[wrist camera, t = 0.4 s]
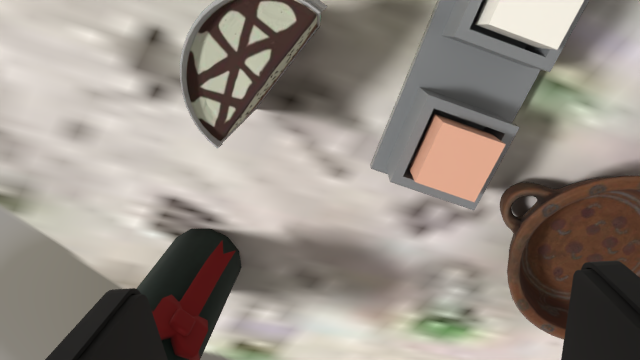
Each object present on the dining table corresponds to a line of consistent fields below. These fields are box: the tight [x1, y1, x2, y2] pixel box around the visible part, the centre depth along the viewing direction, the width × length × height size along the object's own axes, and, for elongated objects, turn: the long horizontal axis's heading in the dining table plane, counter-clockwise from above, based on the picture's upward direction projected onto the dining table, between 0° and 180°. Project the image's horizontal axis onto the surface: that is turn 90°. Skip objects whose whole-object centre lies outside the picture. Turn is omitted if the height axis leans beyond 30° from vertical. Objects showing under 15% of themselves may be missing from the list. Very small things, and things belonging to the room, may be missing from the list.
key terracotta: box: [409, 114, 506, 202], centre depth 31 cm, size 5×5×3 cm
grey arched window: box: [180, 0, 327, 148], centre depth 29 cm, size 12×6×10 cm, turn 140°
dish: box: [500, 176, 640, 339], centre depth 37 cm, size 18×22×5 cm
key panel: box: [370, 0, 589, 210], centre depth 31 cm, size 21×10×5 cm, turn 161°
